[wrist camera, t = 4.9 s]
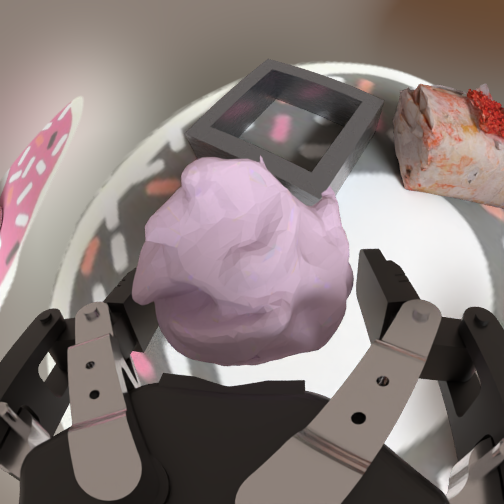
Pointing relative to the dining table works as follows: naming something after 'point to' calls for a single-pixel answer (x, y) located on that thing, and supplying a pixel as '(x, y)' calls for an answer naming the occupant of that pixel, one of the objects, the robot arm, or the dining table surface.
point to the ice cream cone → (243, 266)
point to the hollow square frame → (301, 95)
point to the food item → (451, 143)
